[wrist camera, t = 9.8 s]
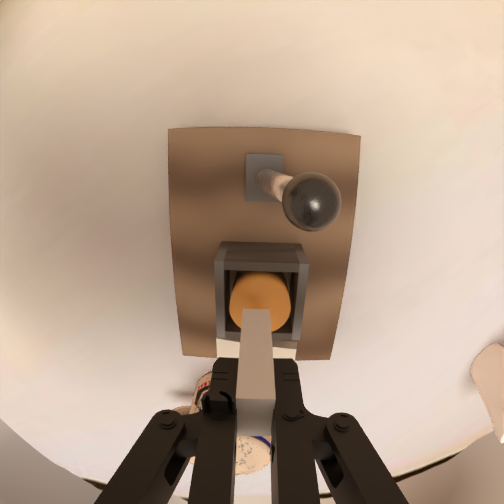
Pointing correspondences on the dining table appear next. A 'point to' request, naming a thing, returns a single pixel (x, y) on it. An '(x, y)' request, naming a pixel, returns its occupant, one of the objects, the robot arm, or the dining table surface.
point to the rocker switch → (232, 347)
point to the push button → (260, 296)
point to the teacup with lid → (248, 447)
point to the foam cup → (491, 384)
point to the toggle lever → (303, 198)
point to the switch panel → (256, 230)
